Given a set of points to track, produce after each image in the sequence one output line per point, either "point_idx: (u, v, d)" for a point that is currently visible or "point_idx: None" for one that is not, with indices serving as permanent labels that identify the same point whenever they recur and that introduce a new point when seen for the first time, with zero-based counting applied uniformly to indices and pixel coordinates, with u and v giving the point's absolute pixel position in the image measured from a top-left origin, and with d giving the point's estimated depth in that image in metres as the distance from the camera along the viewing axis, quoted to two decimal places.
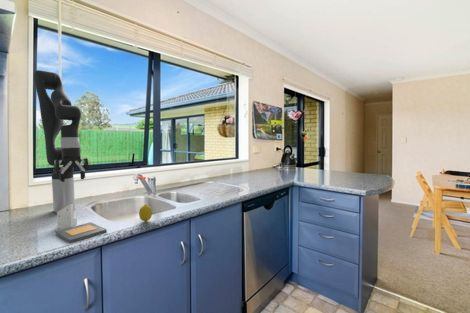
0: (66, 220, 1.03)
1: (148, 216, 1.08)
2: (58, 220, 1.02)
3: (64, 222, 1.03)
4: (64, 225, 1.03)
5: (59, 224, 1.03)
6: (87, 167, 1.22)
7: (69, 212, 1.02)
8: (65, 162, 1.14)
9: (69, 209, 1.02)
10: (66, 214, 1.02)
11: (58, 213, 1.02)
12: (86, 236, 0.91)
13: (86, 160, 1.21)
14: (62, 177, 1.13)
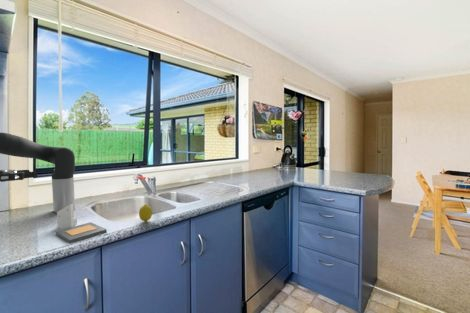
0: (66, 220, 1.03)
1: (148, 216, 1.08)
2: (58, 220, 1.02)
3: (64, 222, 1.03)
4: (64, 225, 1.03)
5: (59, 224, 1.03)
6: None
7: (69, 212, 1.02)
8: (3, 173, 0.85)
9: (69, 209, 1.02)
10: (66, 214, 1.02)
11: (58, 213, 1.02)
12: (86, 236, 0.91)
13: None
14: (29, 172, 0.90)
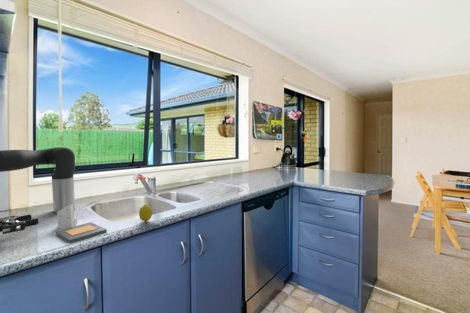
0: (66, 220, 1.03)
1: (148, 216, 1.08)
2: (58, 220, 1.02)
3: (64, 222, 1.03)
4: (64, 225, 1.03)
5: (59, 224, 1.03)
6: (10, 216, 0.94)
7: (69, 212, 1.02)
8: (5, 224, 0.86)
9: (69, 209, 1.02)
10: (66, 214, 1.02)
11: (58, 213, 1.02)
12: (86, 236, 0.91)
13: None
14: (31, 220, 0.91)
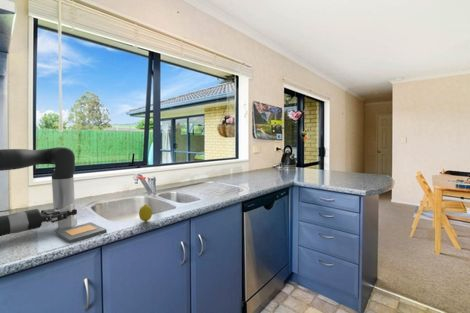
0: (66, 219, 1.03)
1: (148, 216, 1.08)
2: None
3: (64, 222, 1.03)
4: (64, 225, 1.03)
5: (59, 224, 1.03)
6: None
7: None
8: (51, 214, 0.97)
9: (69, 209, 1.02)
10: None
11: None
12: (86, 236, 0.91)
13: (44, 210, 1.02)
14: None
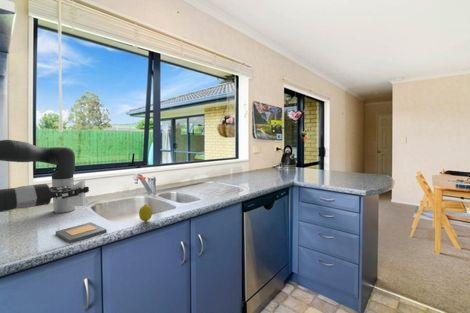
0: (77, 197, 0.93)
1: (148, 216, 1.08)
2: (68, 198, 0.93)
3: (75, 200, 0.93)
4: (75, 203, 0.93)
5: (69, 202, 0.93)
6: None
7: (81, 188, 0.93)
8: (61, 190, 0.88)
9: (81, 186, 0.93)
10: None
11: None
12: (86, 236, 0.91)
13: (53, 187, 0.93)
14: None
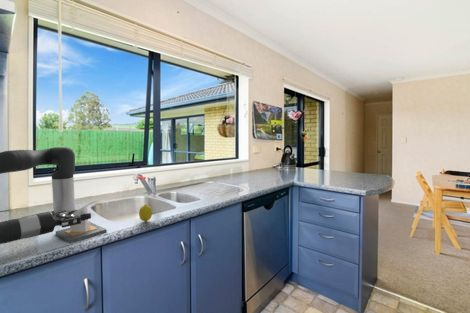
0: None
1: (148, 216, 1.08)
2: None
3: (77, 226, 0.94)
4: (77, 229, 0.94)
5: (72, 228, 0.94)
6: (62, 211, 0.96)
7: None
8: (62, 218, 0.88)
9: (83, 211, 0.94)
10: None
11: None
12: (86, 236, 0.91)
13: (52, 213, 0.93)
14: (85, 215, 0.93)
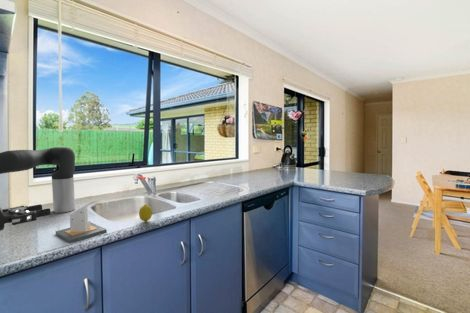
0: (79, 223, 0.94)
1: (148, 216, 1.08)
2: (71, 223, 0.94)
3: (77, 226, 0.94)
4: (77, 229, 0.94)
5: (72, 228, 0.94)
6: (19, 206, 0.85)
7: (83, 214, 0.94)
8: (14, 214, 0.77)
9: (83, 211, 0.94)
10: (79, 217, 0.94)
11: (71, 216, 0.94)
12: (86, 236, 0.91)
13: (6, 209, 0.82)
14: (42, 210, 0.82)
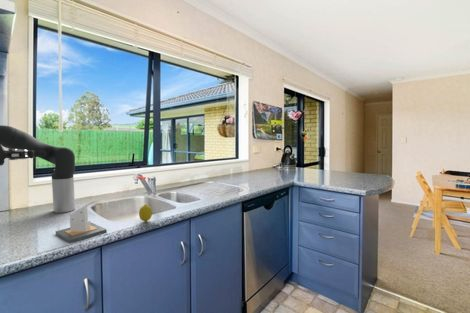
0: (79, 223, 0.94)
1: (148, 216, 1.08)
2: (71, 223, 0.94)
3: (77, 226, 0.94)
4: (77, 229, 0.94)
5: (72, 228, 0.94)
6: None
7: (83, 214, 0.94)
8: (13, 151, 0.85)
9: (83, 211, 0.94)
10: (79, 217, 0.94)
11: (71, 216, 0.94)
12: (86, 236, 0.91)
13: None
14: (39, 151, 0.90)
